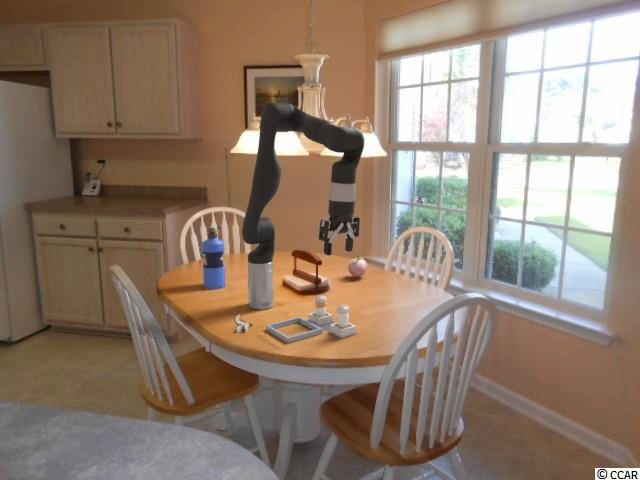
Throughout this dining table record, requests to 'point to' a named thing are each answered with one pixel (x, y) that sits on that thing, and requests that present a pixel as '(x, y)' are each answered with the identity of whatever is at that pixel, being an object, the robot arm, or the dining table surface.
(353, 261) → the decorative fruit
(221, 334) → the dining table surface
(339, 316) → the fuse
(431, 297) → the dining table surface
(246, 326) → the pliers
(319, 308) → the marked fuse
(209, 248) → the water bottle
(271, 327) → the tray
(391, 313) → the dining table surface
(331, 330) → the fuse holder
